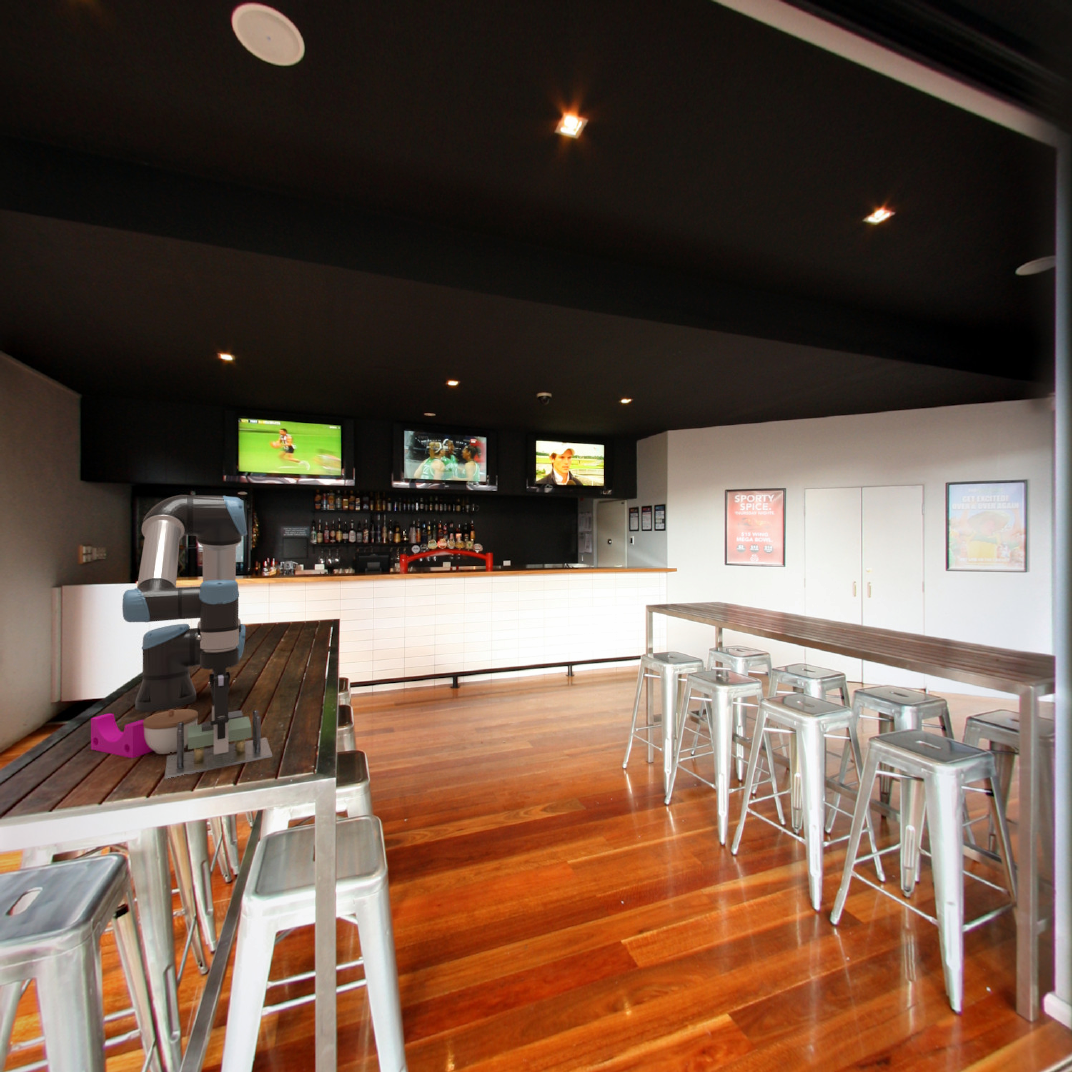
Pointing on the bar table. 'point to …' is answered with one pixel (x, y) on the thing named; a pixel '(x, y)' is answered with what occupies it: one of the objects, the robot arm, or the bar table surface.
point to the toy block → (118, 737)
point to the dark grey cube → (235, 714)
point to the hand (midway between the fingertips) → (219, 742)
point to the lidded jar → (167, 729)
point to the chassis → (207, 759)
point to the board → (205, 732)
